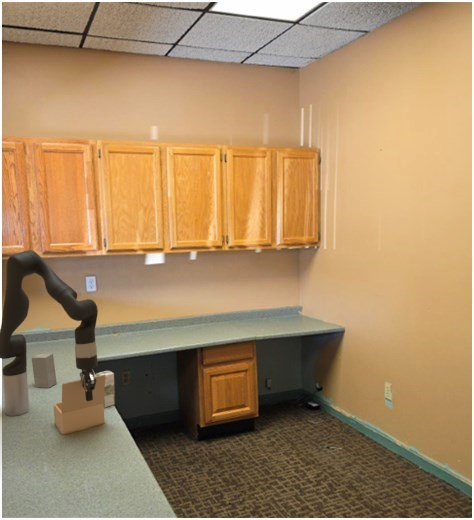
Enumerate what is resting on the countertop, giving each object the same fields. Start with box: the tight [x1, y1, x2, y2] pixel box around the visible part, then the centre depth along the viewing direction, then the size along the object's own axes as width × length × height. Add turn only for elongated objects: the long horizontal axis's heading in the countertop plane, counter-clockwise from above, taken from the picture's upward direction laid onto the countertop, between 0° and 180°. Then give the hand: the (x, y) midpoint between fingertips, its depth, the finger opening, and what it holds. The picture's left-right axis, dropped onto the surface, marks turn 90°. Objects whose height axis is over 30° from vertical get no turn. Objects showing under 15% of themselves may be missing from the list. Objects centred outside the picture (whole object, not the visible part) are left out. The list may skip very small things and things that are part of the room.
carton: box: [53, 401, 106, 435], centre depth 183 cm, size 13×16×8 cm
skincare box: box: [31, 353, 57, 389], centre depth 228 cm, size 8×7×16 cm
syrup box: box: [95, 370, 116, 409], centre depth 201 cm, size 6×6×14 cm
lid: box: [61, 375, 105, 414], centre depth 175 cm, size 13×16×1 cm
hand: (89, 400), depth 170 cm, fingers closed
